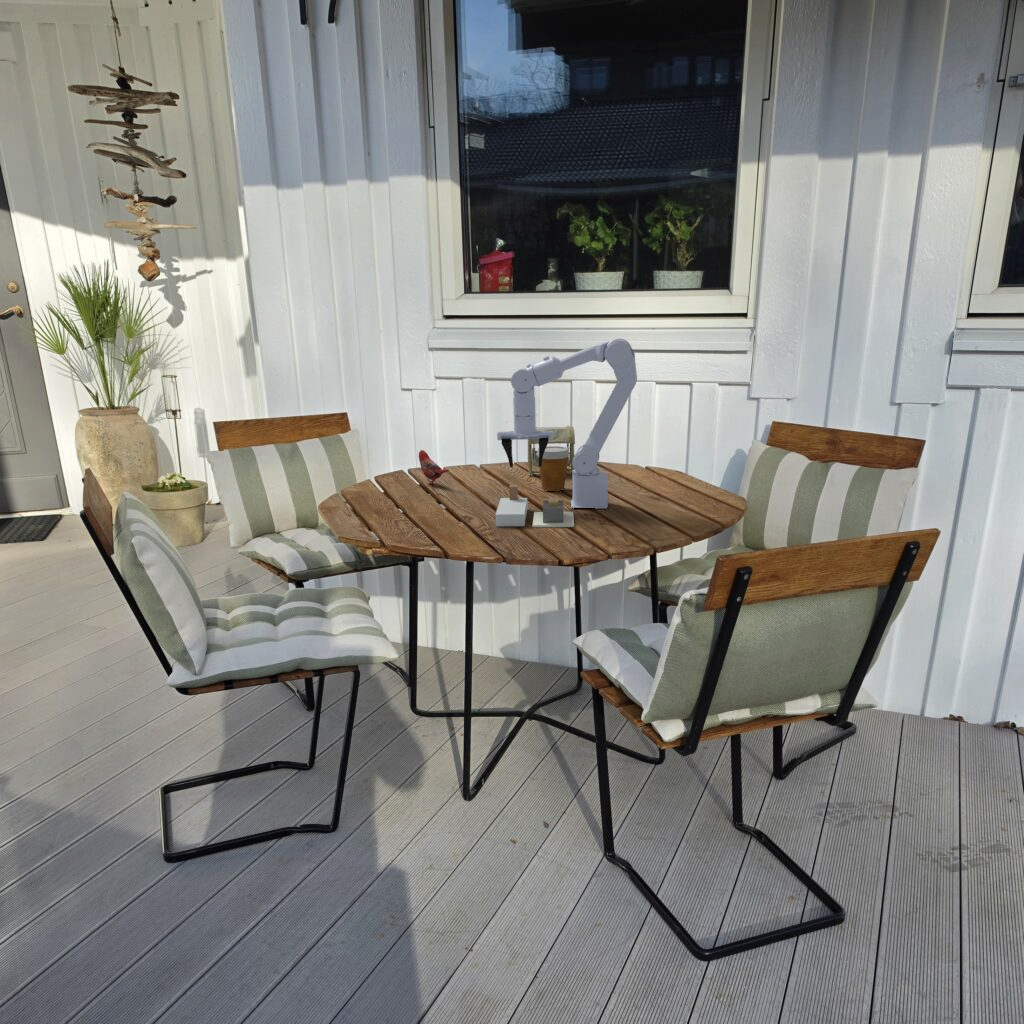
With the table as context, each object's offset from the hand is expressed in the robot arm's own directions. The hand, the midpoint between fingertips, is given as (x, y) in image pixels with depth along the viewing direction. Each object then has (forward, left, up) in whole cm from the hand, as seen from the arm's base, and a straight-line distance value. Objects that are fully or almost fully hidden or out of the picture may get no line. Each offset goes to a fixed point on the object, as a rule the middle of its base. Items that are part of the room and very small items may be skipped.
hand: (525, 466), depth 200 cm
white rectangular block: (+3, +13, -10) cm, 17 cm away
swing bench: (-6, -39, -11) cm, 41 cm away
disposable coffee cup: (-7, -16, -11) cm, 20 cm away
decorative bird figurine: (+29, -23, -11) cm, 39 cm away
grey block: (-8, +16, -10) cm, 20 cm away
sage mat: (-8, +16, -10) cm, 21 cm away
